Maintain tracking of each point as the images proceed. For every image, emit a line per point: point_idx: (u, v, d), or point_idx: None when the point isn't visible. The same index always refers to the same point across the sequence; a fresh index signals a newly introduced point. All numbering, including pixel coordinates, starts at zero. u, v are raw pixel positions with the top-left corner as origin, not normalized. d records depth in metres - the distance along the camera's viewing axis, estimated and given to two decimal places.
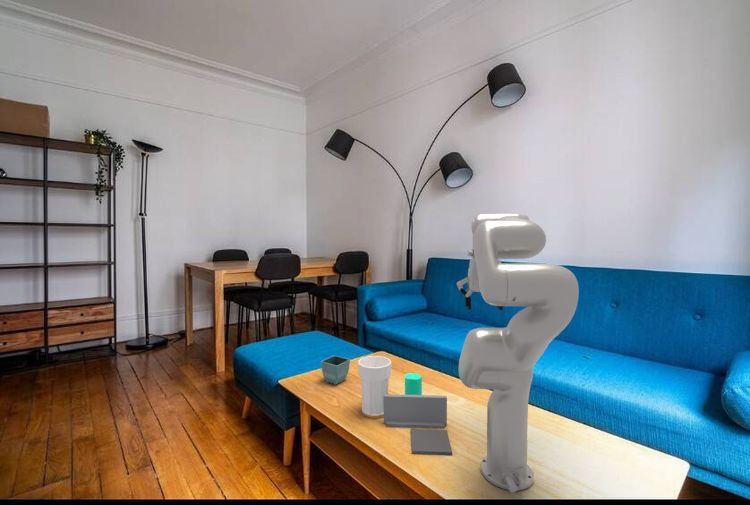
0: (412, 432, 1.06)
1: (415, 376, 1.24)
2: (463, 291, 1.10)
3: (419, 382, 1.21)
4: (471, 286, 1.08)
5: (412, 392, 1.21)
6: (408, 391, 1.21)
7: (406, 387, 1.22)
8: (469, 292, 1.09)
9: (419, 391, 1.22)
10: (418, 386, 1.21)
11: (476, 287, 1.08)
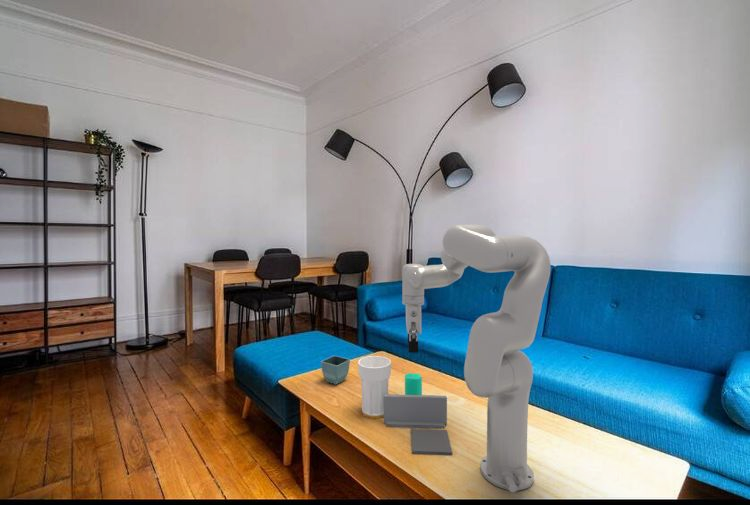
0: (412, 432, 1.06)
1: (415, 376, 1.24)
2: None
3: (419, 382, 1.21)
4: None
5: (412, 392, 1.21)
6: (408, 391, 1.21)
7: (406, 387, 1.22)
8: (417, 336, 1.18)
9: (419, 391, 1.22)
10: (418, 386, 1.21)
11: None
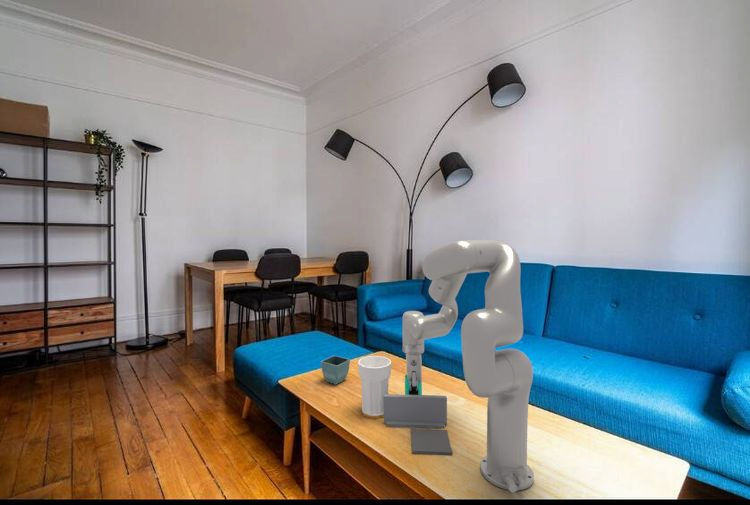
0: (412, 432, 1.06)
1: None
2: (416, 387, 1.19)
3: (419, 382, 1.21)
4: (421, 379, 1.19)
5: None
6: (408, 391, 1.21)
7: (406, 387, 1.22)
8: (417, 385, 1.20)
9: (419, 391, 1.22)
10: (418, 386, 1.21)
11: None
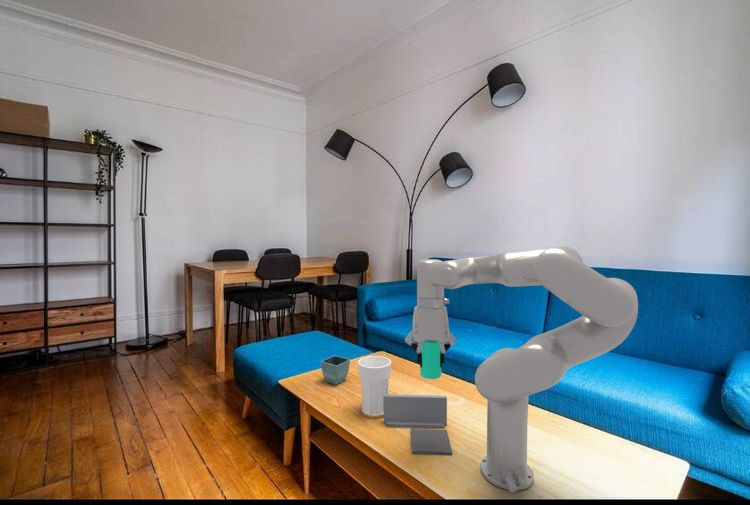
0: (412, 432, 1.06)
1: None
2: None
3: None
4: None
5: None
6: (439, 356, 0.98)
7: (436, 353, 0.98)
8: None
9: None
10: None
11: None
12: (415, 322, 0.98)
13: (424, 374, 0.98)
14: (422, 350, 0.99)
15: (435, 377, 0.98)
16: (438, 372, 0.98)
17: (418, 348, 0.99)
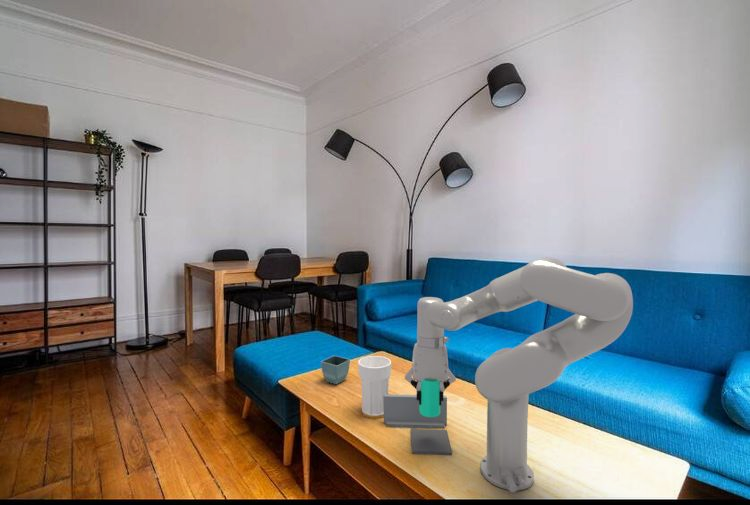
0: (412, 432, 1.06)
1: None
2: None
3: None
4: None
5: None
6: None
7: (436, 392, 0.98)
8: None
9: None
10: None
11: None
12: (415, 360, 0.99)
13: (423, 412, 0.99)
14: (421, 388, 1.00)
15: (434, 415, 0.99)
16: (437, 410, 0.99)
17: (417, 386, 1.00)
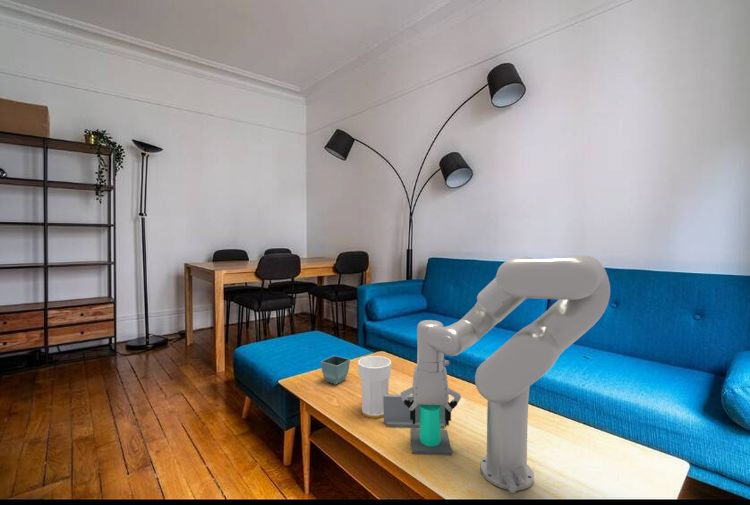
0: (412, 432, 1.06)
1: (426, 405, 1.02)
2: None
3: None
4: None
5: (440, 421, 1.01)
6: (439, 423, 0.99)
7: (436, 421, 0.99)
8: None
9: None
10: None
11: None
12: (415, 384, 0.99)
13: (423, 441, 1.00)
14: (421, 417, 1.00)
15: (434, 444, 0.99)
16: (438, 439, 0.99)
17: (412, 406, 1.00)
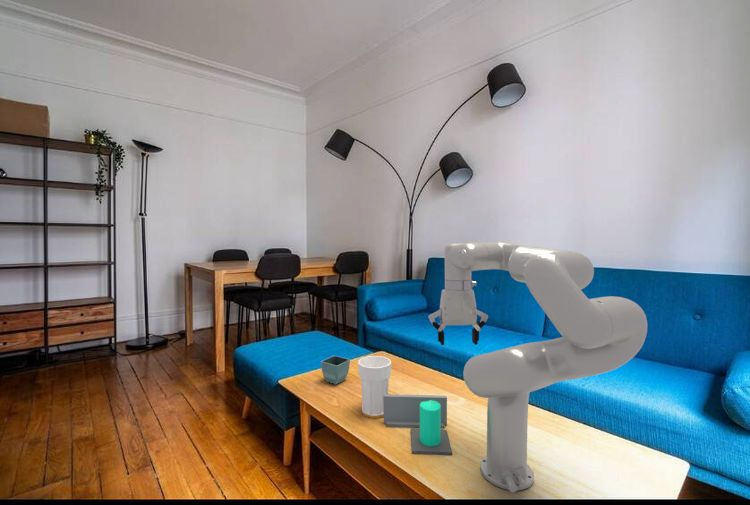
0: (412, 432, 1.06)
1: (426, 405, 1.02)
2: None
3: None
4: None
5: (440, 421, 1.01)
6: (439, 423, 0.99)
7: (436, 421, 0.99)
8: None
9: None
10: None
11: None
12: (444, 304, 1.00)
13: (423, 441, 1.00)
14: (421, 417, 1.00)
15: (434, 444, 0.99)
16: (438, 439, 0.99)
17: (441, 327, 1.01)
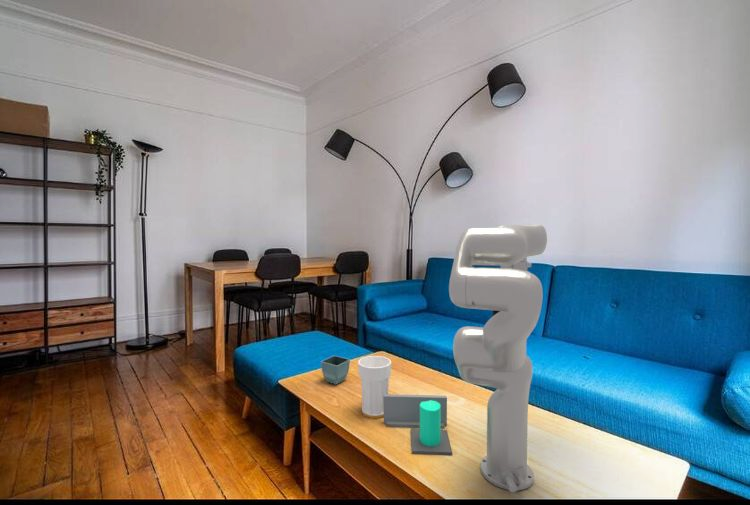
0: (412, 432, 1.06)
1: (426, 405, 1.02)
2: None
3: None
4: None
5: (440, 421, 1.01)
6: (439, 423, 0.99)
7: (436, 421, 0.99)
8: None
9: None
10: None
11: None
12: None
13: (423, 441, 1.00)
14: (421, 417, 1.00)
15: (434, 444, 0.99)
16: (438, 439, 0.99)
17: None
